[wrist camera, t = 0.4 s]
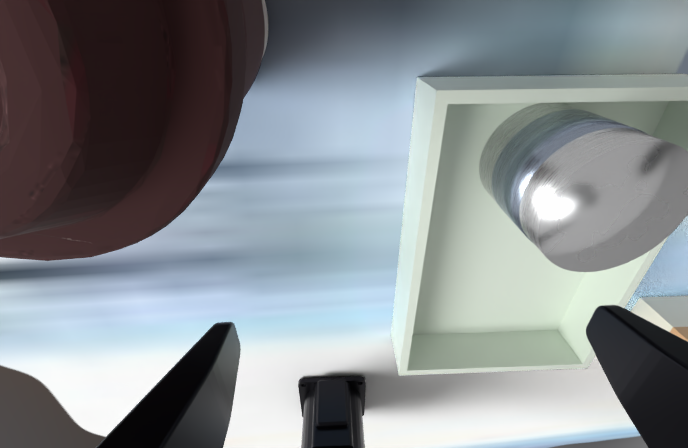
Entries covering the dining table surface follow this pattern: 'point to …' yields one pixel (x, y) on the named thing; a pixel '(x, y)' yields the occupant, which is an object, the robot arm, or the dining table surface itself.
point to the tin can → (585, 185)
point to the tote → (504, 229)
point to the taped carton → (665, 313)
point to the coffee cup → (115, 115)
